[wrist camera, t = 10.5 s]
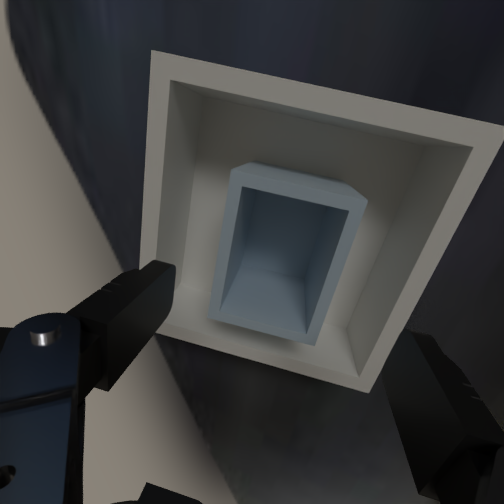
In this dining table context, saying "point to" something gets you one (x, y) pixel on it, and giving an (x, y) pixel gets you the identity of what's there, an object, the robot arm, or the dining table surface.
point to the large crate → (317, 162)
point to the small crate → (282, 249)
